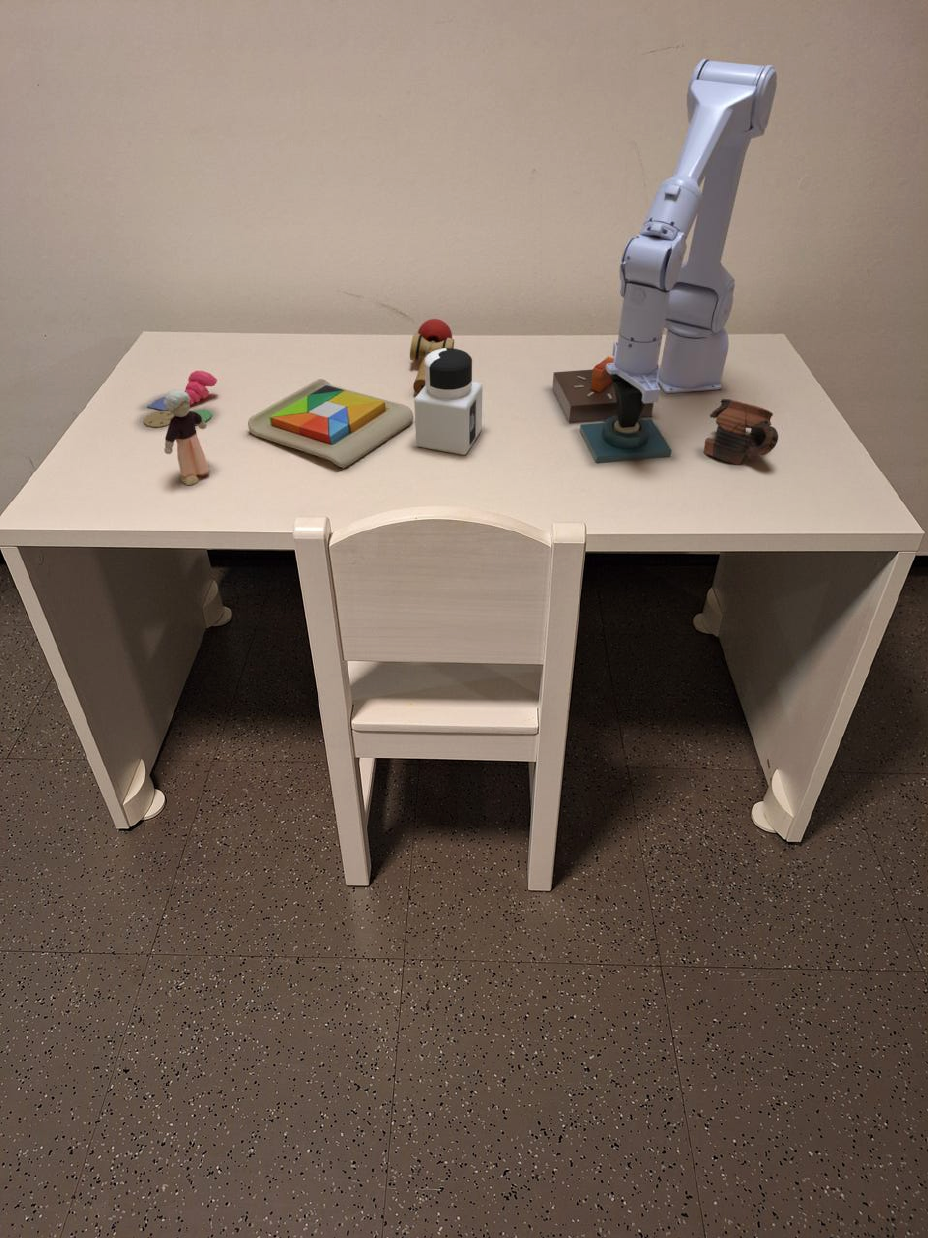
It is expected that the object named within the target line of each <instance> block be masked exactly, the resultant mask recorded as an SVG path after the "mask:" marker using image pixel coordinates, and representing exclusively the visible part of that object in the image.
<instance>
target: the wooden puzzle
mask: <svg viewBox="0 0 928 1238" xmlns="http://www.w3.org/2000/svg"><path fill="white" fill-rule="evenodd" d="M413 420H414V413H413V410H412V409H411V408H410V407H409V406H407V405H405V404H402V403H398V402H394V401H389V400H388V399H382V398H379V397H375V396H371V395H367V394H365V393H360V392H356V391H353V390H350V389H346V388H342V387H339V386H335V385H333V384H331V382H329V381H327V380H326V379H323V378H318V379H316V380H314V381H312V382H310V383H309V384H307V385H305V386H303V387H301V388H299V389H298V390H296V391H295V392H292V393H291V394H289V395H287V396H285V397H284V398H282V399H280V400H278V401H276V402H275V403H273V404H271V405H270V406H268V407H266V408H264V409H262V410H261V411H259V412H257V413H256V414H254V415H252V416H250V417H249V419H248V421H247V427H248V430H249V432H250V433H251V434H252V435H253V436H255V437H258V438H260V439H264V440H267V441H270V442H274V443H276V444H279V445H282V446H286V447H289V448H292V449H295V450H299V451H302V452H304V453H307V454H310V455H314V456H317V457H319V458H322V459H326V460H328V461H330V462H332V463H333V464H334V465H336V466H337V467H339V468H343V469H344V468H348V467H350V465H352V464H354V463H355V462H357V461H358V460H360V459H361V458H362V457H364V456H366V455H367V454H368V453H370V452H371V451H373V450H374V449H376V448H377V447H379V446H380V445H382V444H383V443H385V442H387V440H389V439H390V438H392V437H393V436H395V435H396V434H398V433H399V432H400V431H402V430H403V429H405V428H407V426H409V425H410V424H412V422H413Z"/></svg>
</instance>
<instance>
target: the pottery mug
mask: <svg viewBox="0 0 928 1238" xmlns="http://www.w3.org/2000/svg"><path fill="white" fill-rule="evenodd" d="M720 403H721V404H720V406H718V407H716V408H715V409H714V410H713V411H712V412H711V413H710V414H709V417H710V418H712V419H716V420H715V423H716V425H717V427H716V434H715V438H709V437H708V438H705V441H704V447H703V454H705V455H708V456H710V457H714V458H716V459H718V460H720V461H723V462H726V463H730V464H734V465H737V466H739V465H741V462H742V460H743V459H744V457H745V455H747V457H748V459H749V460H751V461H753V460H755V459H758V458H759V457H764V456H765V455H768V454H769V453H770V452H771V451H773V450H774V448H776V446H777V444H778V441H779V433H778V431H777V428H775V427H774V426H772V423H771V419H772V417H773V415H774V413H773V412H772V411H770V410H769V409H766V408H763V407H761V406H758V405H757V406H756V405H754V404H750V403H746V402H743V401H738V400H733V399H730V398H722V399H721V400H720ZM747 429H750V433H748V434H747V432H746V431H747Z"/></svg>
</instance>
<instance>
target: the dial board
mask: <svg viewBox="0 0 928 1238" xmlns="http://www.w3.org/2000/svg"><path fill="white" fill-rule="evenodd" d="M552 374H553V376H552V387H551V390H552V391H553V393H554V395H555V397H556V400H557V402H558V404H559V406H560V408H561V410H562V412H563V414H564V416H565V418H566V420H567V422H568V423H569V424H574V423H586V422H587V423H588V422H600V421H605V420H606V419H608V418H610V417H612V416H615V415H618V414H617V402H616V395H615V391H614V387H613V384H612V383H611V384H610V385H608V386H607V387H606V388H604V389H603V390H602V391H601V392H597V391H594V390H591V382H592V374H593V368H592V369H580V370H579V369H578V370H565V371H553V373H552ZM654 404H655V403H646V404H645V406H644V408H643V410H642V412H641V414H640V416H639V418H648V417H649V418H651V417H652V414H653V410H654V409H653V408H654Z"/></svg>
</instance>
